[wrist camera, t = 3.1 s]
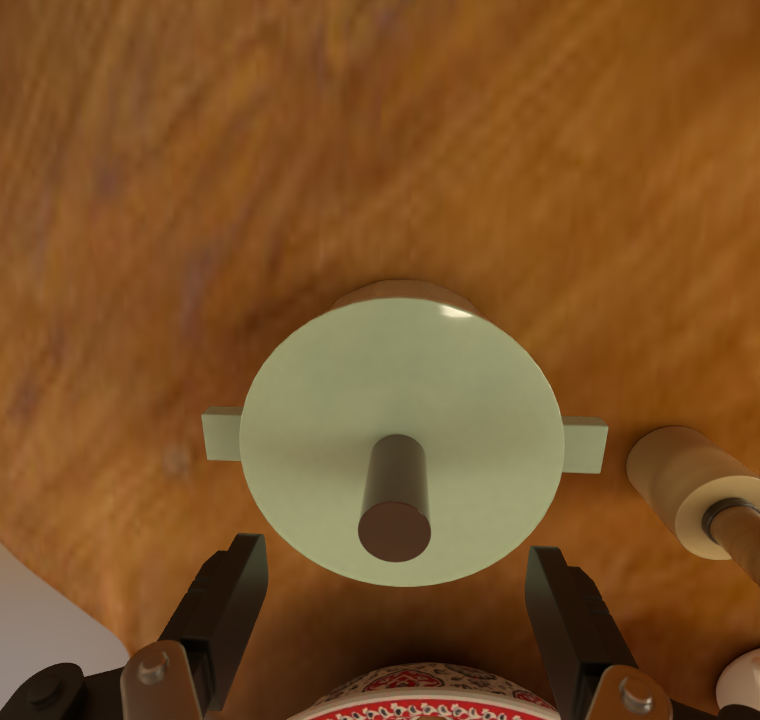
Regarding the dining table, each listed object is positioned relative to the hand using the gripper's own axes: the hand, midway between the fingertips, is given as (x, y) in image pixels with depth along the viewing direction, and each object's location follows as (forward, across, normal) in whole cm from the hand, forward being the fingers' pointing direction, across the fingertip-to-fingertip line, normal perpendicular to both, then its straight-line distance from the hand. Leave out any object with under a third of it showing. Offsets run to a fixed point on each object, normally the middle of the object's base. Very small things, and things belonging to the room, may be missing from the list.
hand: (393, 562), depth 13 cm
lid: (+6, 0, 0) cm, 6 cm away
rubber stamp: (+15, -17, +5) cm, 23 cm away
